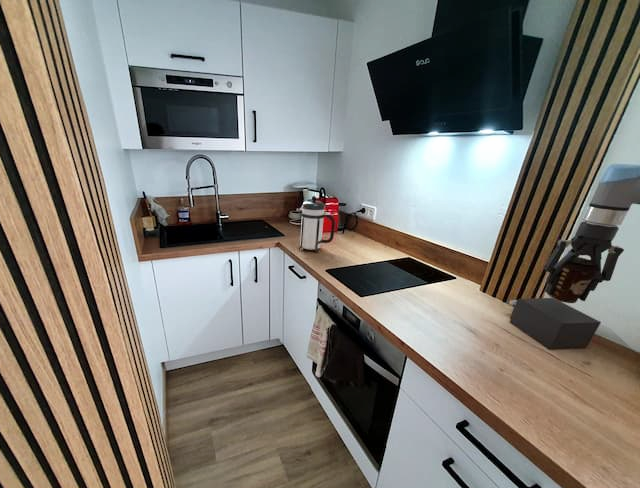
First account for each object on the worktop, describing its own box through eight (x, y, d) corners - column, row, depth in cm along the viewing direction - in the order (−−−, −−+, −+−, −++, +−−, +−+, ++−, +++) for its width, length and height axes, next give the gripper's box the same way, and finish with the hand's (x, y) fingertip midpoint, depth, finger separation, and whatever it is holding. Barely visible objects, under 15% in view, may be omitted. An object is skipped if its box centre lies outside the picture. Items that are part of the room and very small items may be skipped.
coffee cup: (585, 301, 87) (606, 262, 82) (577, 309, 83) (599, 268, 78) (549, 290, 94) (566, 253, 89) (540, 296, 89) (557, 258, 84)
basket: (499, 311, 104) (507, 293, 101) (527, 311, 106) (536, 292, 102) (545, 342, 88) (555, 321, 85) (578, 341, 89) (589, 320, 86)
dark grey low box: (509, 322, 100) (519, 298, 96) (542, 321, 101) (553, 297, 97) (549, 349, 86) (562, 323, 83) (586, 348, 88) (601, 322, 84)
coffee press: (305, 255, 155) (308, 199, 143) (293, 246, 169) (295, 194, 156) (332, 252, 161) (338, 198, 149) (319, 243, 174) (323, 193, 162)
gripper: (641, 225, 78) (601, 298, 87) (549, 216, 86) (520, 284, 95) (660, 232, 72) (614, 309, 81) (559, 221, 79) (527, 293, 89)
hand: (564, 295), depth 88 cm, fingers closed on coffee cup, 7 cm apart
